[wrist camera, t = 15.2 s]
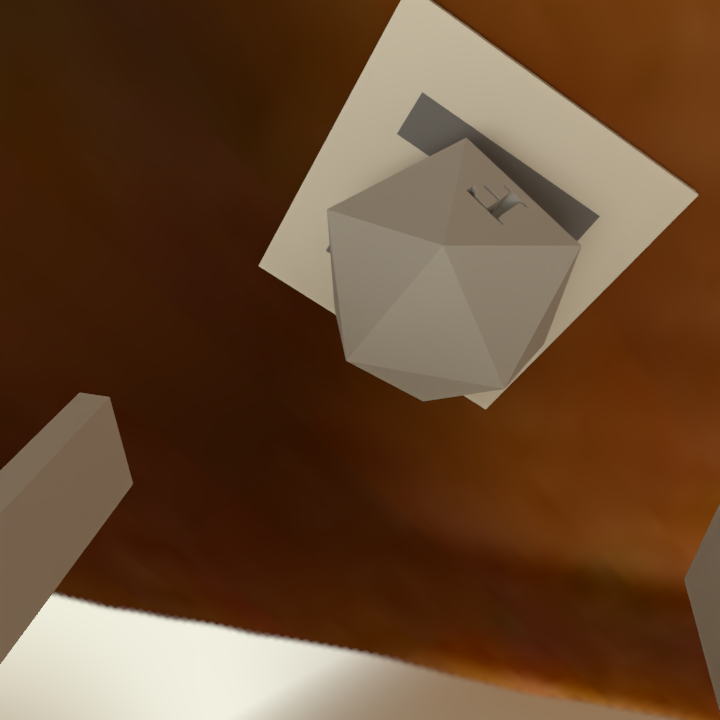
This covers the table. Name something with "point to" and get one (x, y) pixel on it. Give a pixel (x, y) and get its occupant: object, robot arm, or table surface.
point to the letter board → (495, 140)
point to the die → (446, 275)
